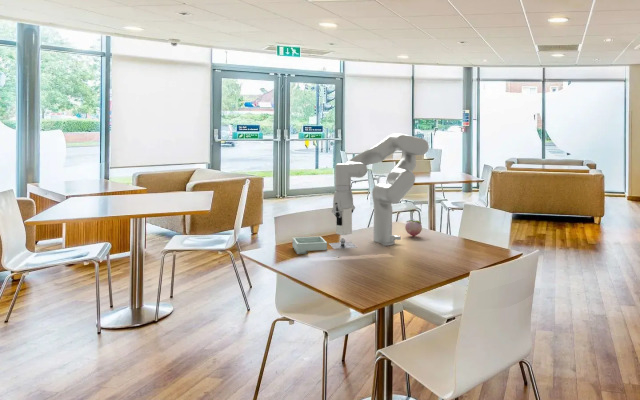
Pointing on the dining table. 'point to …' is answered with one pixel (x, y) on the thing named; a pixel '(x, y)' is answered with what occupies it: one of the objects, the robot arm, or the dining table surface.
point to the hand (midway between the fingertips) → (343, 223)
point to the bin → (308, 244)
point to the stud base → (347, 245)
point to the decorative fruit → (413, 227)
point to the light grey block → (345, 222)
